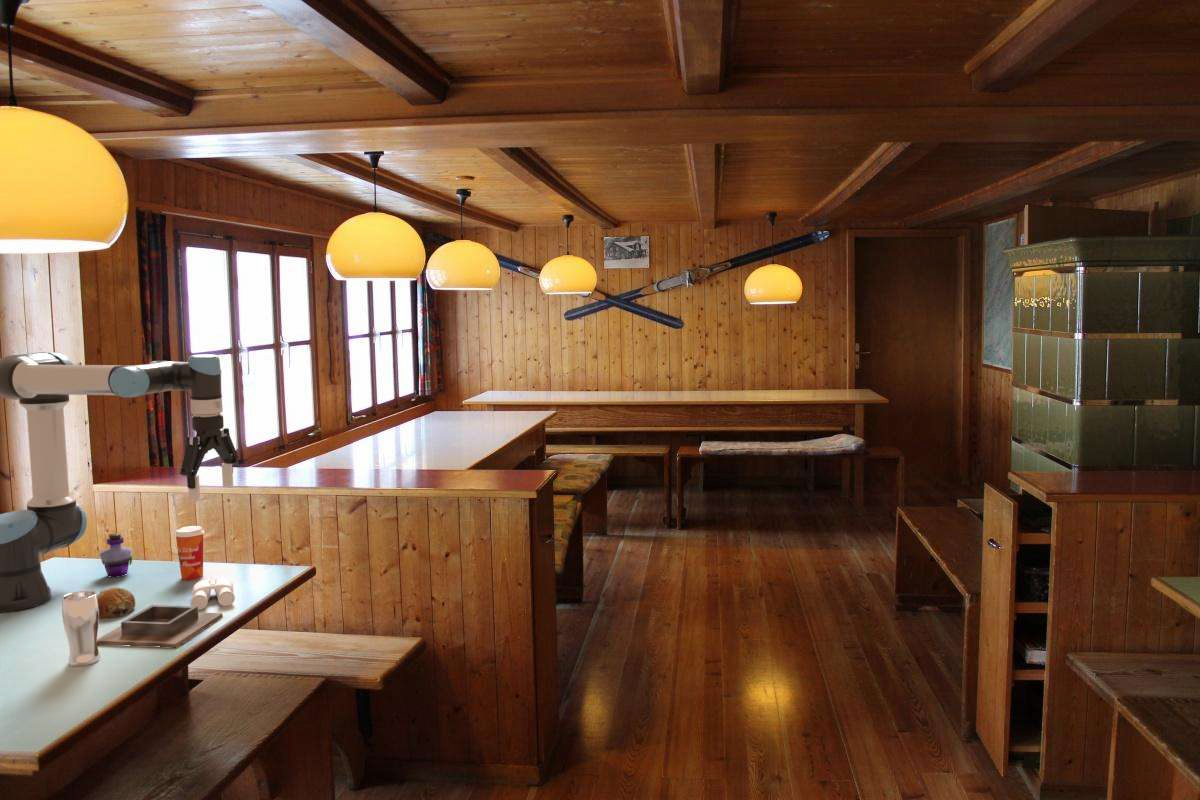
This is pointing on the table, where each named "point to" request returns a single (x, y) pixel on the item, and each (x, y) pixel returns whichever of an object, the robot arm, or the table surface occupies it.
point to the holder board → (160, 626)
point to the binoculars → (222, 591)
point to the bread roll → (115, 602)
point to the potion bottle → (116, 556)
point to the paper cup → (190, 551)
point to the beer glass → (81, 626)
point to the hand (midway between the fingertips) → (211, 493)
